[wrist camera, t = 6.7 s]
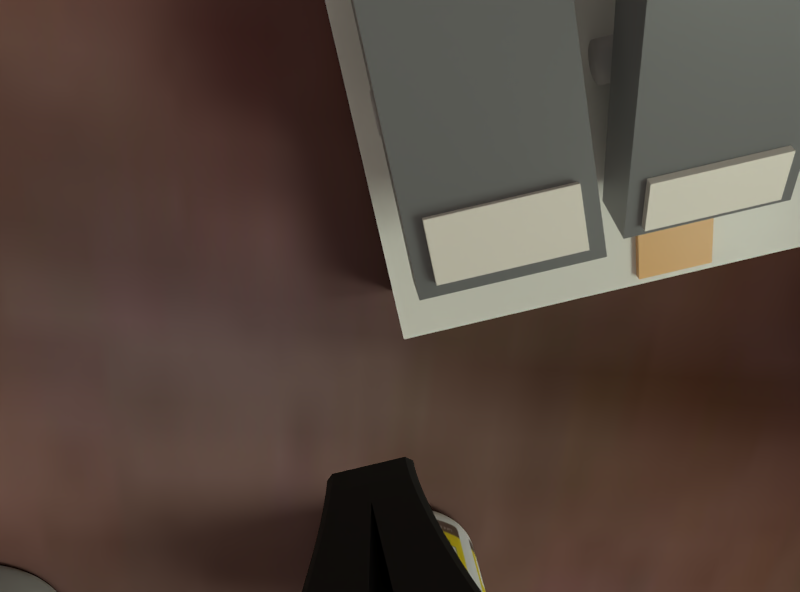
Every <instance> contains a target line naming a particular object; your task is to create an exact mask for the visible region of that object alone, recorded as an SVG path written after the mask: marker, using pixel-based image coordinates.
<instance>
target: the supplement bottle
mask: <svg viewBox="0 0 800 592" xmlns="http://www.w3.org/2000/svg"><path fill="white" fill-rule="evenodd" d="M433 513H434V515H435V517H436V519H437V521H438V523H439V525H440V527H441V528H442V530H443V532H444V534H445V535H446V537H447V539H448V540H449V542H450V544H451V545H452V547H453V549H454V550H455V552H456V554H457V555H458V557H459V558H460V560H461V562H462V563H463V565H464V566H465V568H466V569H467V571H468V573H469V574H470V576H471V577H472V579H473V580H474V581H475V583H476V584H477V586H478V587H479V589H480V590H481V592H485V587H484V584H483V580H482V577H481V573H480V570H479V566H478V562H477V558H476V555H475V552H474V548H473V545H472V543H471V540H470V538H469V536H468V535H467V533H466V532H465V530H464V529H463V528H462V527H461V526H460V525H459V524H458V523H457V522H455V521H454V520H452V519H451V518H449V517H447V516H445V515H443V514H441V513H438V512H435V511H433Z"/></svg>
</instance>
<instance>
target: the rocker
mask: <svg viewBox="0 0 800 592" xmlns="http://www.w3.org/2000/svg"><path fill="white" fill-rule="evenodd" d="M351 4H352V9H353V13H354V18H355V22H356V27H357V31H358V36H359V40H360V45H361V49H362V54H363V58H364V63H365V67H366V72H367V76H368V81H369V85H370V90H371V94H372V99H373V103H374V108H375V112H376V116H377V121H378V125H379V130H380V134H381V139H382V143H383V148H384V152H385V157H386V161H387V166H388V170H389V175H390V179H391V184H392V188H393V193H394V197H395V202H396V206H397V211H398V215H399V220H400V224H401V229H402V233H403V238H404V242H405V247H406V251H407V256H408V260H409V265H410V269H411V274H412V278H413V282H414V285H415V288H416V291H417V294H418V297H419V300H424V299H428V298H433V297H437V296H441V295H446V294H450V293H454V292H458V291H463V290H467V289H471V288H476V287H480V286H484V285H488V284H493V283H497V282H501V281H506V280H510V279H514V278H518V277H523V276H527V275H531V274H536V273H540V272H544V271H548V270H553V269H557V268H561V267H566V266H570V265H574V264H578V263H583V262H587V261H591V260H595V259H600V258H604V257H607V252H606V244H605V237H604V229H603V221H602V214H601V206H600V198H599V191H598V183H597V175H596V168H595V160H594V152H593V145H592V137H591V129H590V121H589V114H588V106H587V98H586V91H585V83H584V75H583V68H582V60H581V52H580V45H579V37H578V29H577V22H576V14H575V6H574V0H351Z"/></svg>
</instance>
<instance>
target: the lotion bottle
mask: <svg viewBox="0 0 800 592" xmlns="http://www.w3.org/2000/svg"><path fill="white" fill-rule="evenodd" d="M0 592H56V591H55V589H53V588H52V587H51V586H50V585H49V584H47V583H46V582H45V581H43V580H41V579H40V578H38V577H36V576H34V575H32V574H29V573H27V572H24V571H21V570H18V569H15V568H11V567H6V566H0Z"/></svg>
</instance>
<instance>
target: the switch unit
mask: <svg viewBox="0 0 800 592" xmlns="http://www.w3.org/2000/svg"><path fill="white" fill-rule="evenodd" d="M615 2H616V0H574V6H575V14H576V22H577V29H578V37H579V45H580V52H581V60H582V68H583V75H584V83H585V91H586V98H587V106H588V114H589V121H590V129H591V137H592V145H593V152H594V160H595V168H596V175H597V183H598V191H599V198H600V206H601V214H602V221H603V229H604V237H605V244H606V252H607V257H604V258H600V259H595V260H591V261H587V262H583V263H578V264H574V265H570V266H566V267H561V268H557V269H553V270H548V271H544V272H540V273H536V274H531V275H527V276H523V277H518V278H514V279H510V280H506V281H501V282H497V283H493V284H488V285H484V286H480V287H476V288H471V289H467V290H463V291H458V292H454V293H450V294H446V295H441V296H437V297H433V298H428V299H424V300H419V297H418V294H417V291H416V288H415V285H414V282H413V278H412V274H411V269H410V265H409V260H408V256H407V251H406V247H405V242H404V238H403V233H402V229H401V224H400V220H399V215H398V211H397V206H396V202H395V197H394V193H393V188H392V184H391V179H390V175H389V170H388V166H387V161H386V157H385V152H384V148H383V143H382V139H381V134H380V130H379V125H378V121H377V116H376V112H375V108H374V103H373V99H372V94H371V90H370V85H369V81H368V76H367V72H366V67H365V63H364V58H363V54H362V49H361V45H360V40H359V36H358V31H357V27H356V22H355V18H354V13H353V9H352V4H351V0H325V3H326V8H327V12H328V16H329V21H330V25H331V29H332V33H333V38H334V42H335V46H336V51H337V55H338V59H339V63H340V68H341V72H342V76H343V81H344V85H345V89H346V93H347V98H348V102H349V106H350V111H351V115H352V119H353V123H354V128H355V132H356V136H357V140H358V145H359V149H360V153H361V158H362V162H363V166H364V170H365V175H366V179H367V183H368V188H369V192H370V196H371V200H372V205H373V209H374V213H375V218H376V222H377V226H378V230H379V235H380V239H381V243H382V248H383V252H384V256H385V260H386V265H387V269H388V273H389V278H390V282H391V286H392V290H393V295H394V299H395V303H396V308H397V312H398V316H399V320H400V325H401V329H402V333H403V338H404V339H407V338H412V337H416V336H420V335H425V334H429V333H433V332H437V331H442V330H446V329H450V328H455V327H459V326H463V325H467V324H472V323H476V322H480V321H484V320H489V319H493V318H497V317H502V316H506V315H510V314H514V313H519V312H523V311H527V310H531V309H536V308H540V307H544V306H549V305H553V304H557V303H561V302H566V301H570V300H574V299H579V298H583V297H587V296H591V295H596V294H600V293H604V292H608V291H613V290H617V289H621V288H626V287H630V286H634V285H638V284H643V283H647V282H651V281H655V280H660V279H664V278H668V277H673V276H677V275H681V274H685V273H690V272H694V271H698V270H703V269H707V268H711V267H715V266H720V265H724V264H728V263H732V262H737V261H741V260H745V259H750V258H754V257H758V256H762V255H767V254H771V253H775V252H779V251H784V250H788V249H792V248H797V247H800V171H799V174H798V177H797V181H796V184H795V187H794V190H793V194H792V197H791V200H788V201H784V202H780V203H775V204H771V205H767V206H763V207H758V208H754V209H750V210H745V211H741V212H737V213H733V214H728V215H724V216H720V217H715V218H711V219H707V220H703V221H698V222H694V223H690V224H685V225H681V226H677V227H673V228H668V229H664V230H660V231H655V232H651V233H647V234H643V235H638V236H634V237H630V238H625V239H623V237H622V235H621V233H620V232H619V230H618V228H617V226H616V224H615V223H614V221H613V219H612V217H611V215H610V214H609V212H608V210H607V208H606V206H605V205H604V203H603V201H602V198H603V183H604V168H605V153H606V138H607V123H608V108H609V93H610V78H611V63H612V48H613V33H614V17H615Z"/></svg>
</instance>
